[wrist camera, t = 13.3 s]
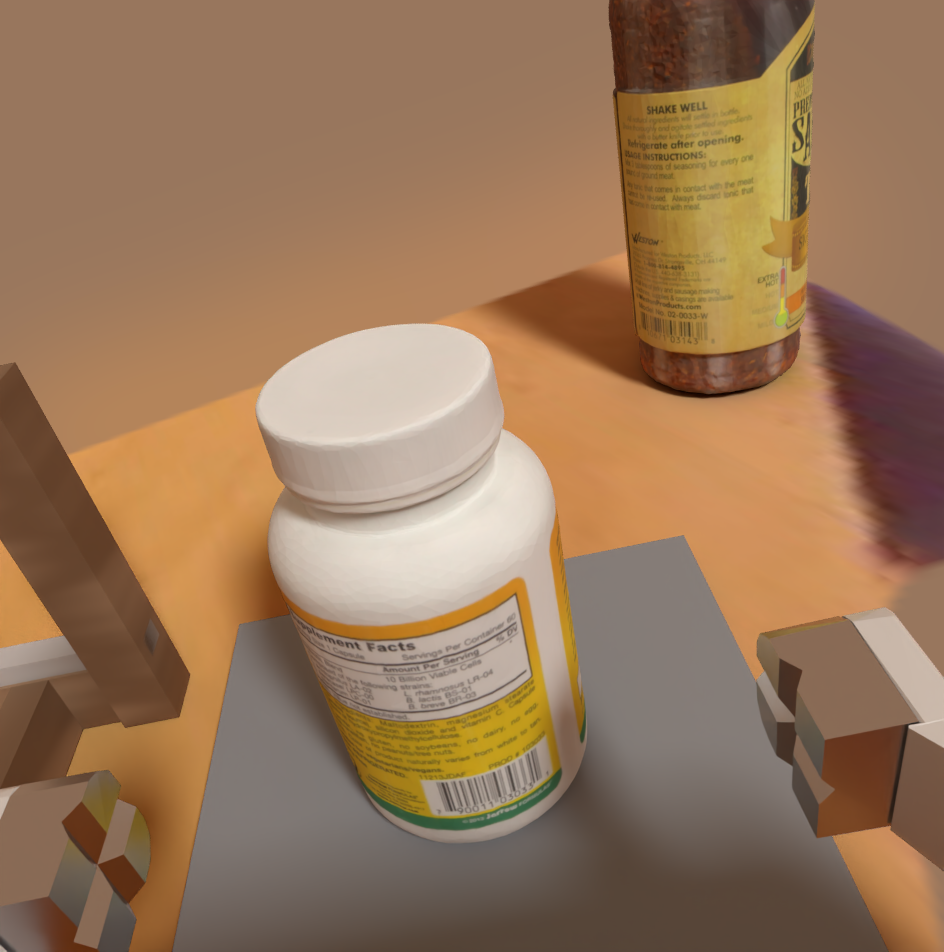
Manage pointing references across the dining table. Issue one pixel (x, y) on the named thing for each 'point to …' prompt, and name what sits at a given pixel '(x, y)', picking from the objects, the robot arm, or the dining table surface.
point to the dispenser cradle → (70, 608)
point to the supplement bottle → (426, 579)
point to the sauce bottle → (715, 183)
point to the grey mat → (551, 835)
